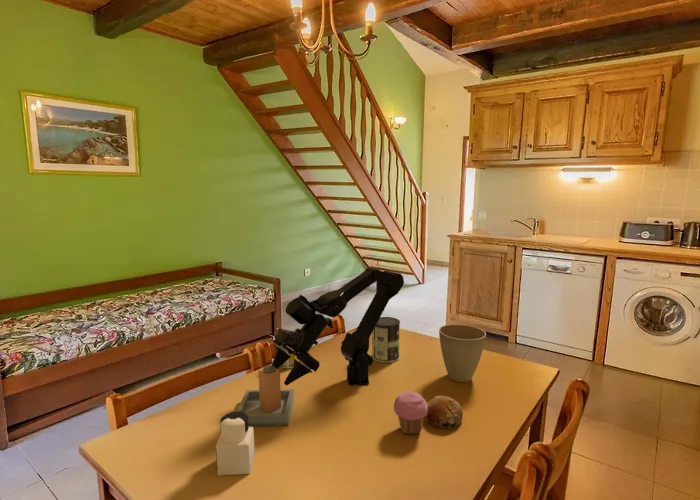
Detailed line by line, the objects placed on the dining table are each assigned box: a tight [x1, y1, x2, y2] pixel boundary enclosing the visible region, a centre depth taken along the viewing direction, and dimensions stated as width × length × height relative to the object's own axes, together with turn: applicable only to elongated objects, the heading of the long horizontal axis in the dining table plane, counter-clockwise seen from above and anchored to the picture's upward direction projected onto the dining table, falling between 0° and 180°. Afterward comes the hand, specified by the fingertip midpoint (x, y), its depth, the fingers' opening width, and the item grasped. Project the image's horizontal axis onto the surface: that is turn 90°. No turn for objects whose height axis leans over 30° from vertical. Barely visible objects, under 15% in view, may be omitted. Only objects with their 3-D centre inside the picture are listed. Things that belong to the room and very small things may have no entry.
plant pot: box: [438, 323, 487, 383], centre depth 134 cm, size 15×15×16 cm
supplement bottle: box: [281, 353, 298, 370], centre depth 144 cm, size 5×5×10 cm
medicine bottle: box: [215, 410, 255, 476], centre depth 92 cm, size 7×7×12 cm
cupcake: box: [393, 391, 428, 435], centre depth 106 cm, size 9×9×10 cm
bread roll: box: [425, 395, 464, 430], centre depth 111 cm, size 10×10×8 cm
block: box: [258, 364, 282, 413], centre depth 115 cm, size 4×4×12 cm
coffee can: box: [371, 316, 401, 364], centre depth 151 cm, size 10×10×14 cm
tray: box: [236, 388, 295, 427], centre depth 115 cm, size 14×14×3 cm
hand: (277, 378), depth 116 cm, fingers open, 9 cm apart
